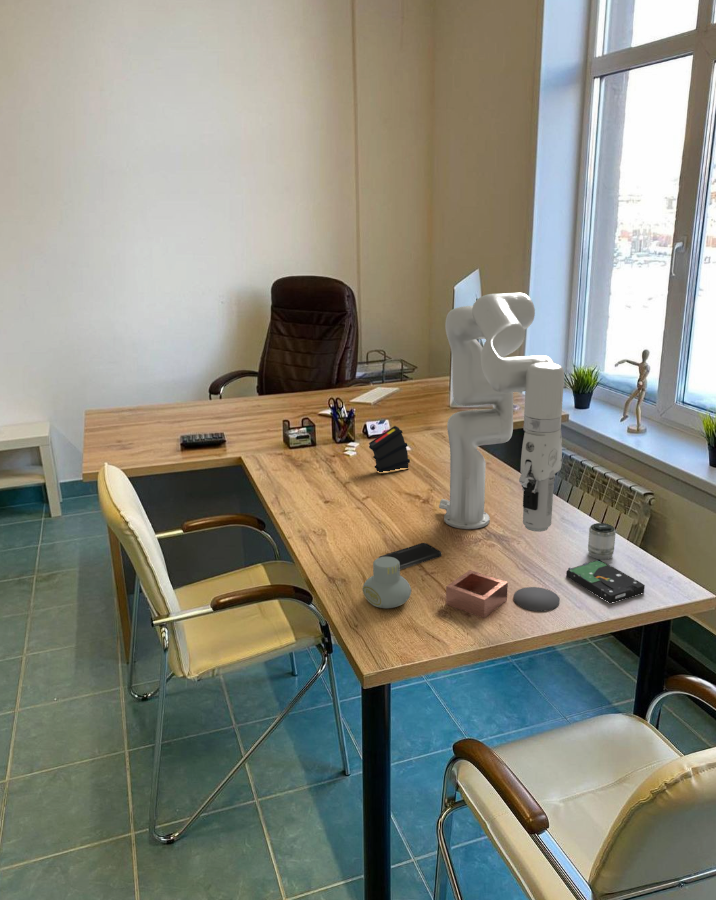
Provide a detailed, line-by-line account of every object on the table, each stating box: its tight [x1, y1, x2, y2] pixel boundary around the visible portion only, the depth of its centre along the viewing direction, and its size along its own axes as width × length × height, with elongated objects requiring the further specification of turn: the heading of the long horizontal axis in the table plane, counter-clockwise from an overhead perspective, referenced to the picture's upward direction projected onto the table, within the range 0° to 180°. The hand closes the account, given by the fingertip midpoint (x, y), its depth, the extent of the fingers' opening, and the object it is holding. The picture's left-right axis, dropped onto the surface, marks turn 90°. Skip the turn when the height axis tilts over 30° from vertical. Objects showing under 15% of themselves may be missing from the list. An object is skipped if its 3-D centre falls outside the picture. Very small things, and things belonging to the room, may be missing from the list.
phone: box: [378, 542, 442, 571], centre depth 193 cm, size 8×1×15 cm
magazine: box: [368, 425, 411, 472], centre depth 252 cm, size 4×13×15 cm, turn 114°
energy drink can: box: [522, 470, 555, 533], centre depth 163 cm, size 6×6×15 cm
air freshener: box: [362, 556, 412, 609], centre depth 171 cm, size 11×8×10 cm
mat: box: [513, 586, 561, 612], centre depth 171 cm, size 10×10×1 cm
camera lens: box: [587, 522, 617, 561], centre depth 190 cm, size 6×6×8 cm
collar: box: [445, 569, 509, 619], centre depth 170 cm, size 10×10×4 cm
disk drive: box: [566, 559, 645, 604], centre depth 177 cm, size 10×3×15 cm
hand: (537, 502), depth 164 cm, fingers closed on energy drink can, 6 cm apart
